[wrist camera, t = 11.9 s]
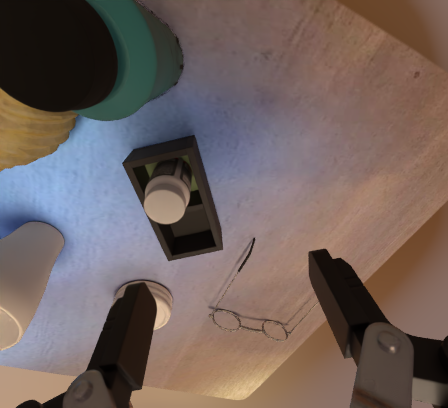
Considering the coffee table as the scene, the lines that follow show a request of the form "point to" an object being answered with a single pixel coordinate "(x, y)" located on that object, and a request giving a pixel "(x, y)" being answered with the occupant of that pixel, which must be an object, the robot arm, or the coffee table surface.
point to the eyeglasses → (239, 319)
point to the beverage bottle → (86, 56)
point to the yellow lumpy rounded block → (30, 131)
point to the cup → (25, 276)
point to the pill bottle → (168, 191)
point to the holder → (197, 207)
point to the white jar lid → (161, 298)
